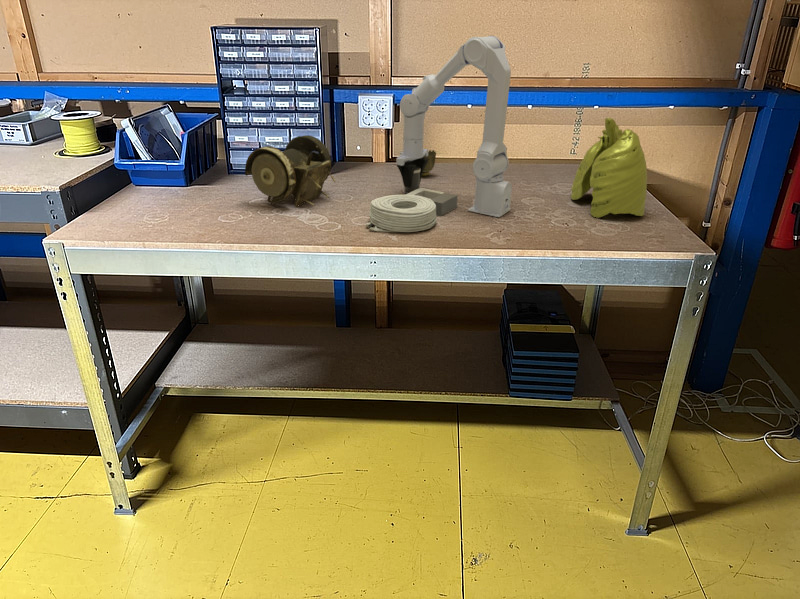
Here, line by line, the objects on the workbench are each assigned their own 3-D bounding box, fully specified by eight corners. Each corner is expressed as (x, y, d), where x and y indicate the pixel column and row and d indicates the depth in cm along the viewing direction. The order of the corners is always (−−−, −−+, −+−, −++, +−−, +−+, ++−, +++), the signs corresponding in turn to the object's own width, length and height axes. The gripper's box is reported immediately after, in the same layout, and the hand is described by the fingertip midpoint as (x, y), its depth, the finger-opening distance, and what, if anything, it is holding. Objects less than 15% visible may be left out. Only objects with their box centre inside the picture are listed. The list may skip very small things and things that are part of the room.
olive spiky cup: (435, 179, 188) (437, 154, 184) (412, 178, 188) (413, 153, 184) (434, 173, 195) (435, 148, 191) (412, 172, 194) (413, 148, 191)
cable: (363, 232, 145) (362, 209, 142) (375, 210, 160) (375, 189, 157) (433, 237, 143) (434, 214, 140) (438, 214, 158) (439, 193, 155)
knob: (422, 190, 174) (423, 167, 171) (414, 194, 170) (415, 170, 167) (409, 188, 176) (409, 164, 173) (401, 191, 173) (401, 168, 169)
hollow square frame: (456, 207, 163) (457, 195, 161) (441, 215, 156) (441, 203, 155) (420, 199, 169) (420, 187, 167) (403, 207, 162) (403, 195, 160)
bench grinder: (235, 189, 162) (252, 128, 149) (284, 168, 179) (303, 111, 166) (291, 231, 159) (313, 172, 146) (336, 206, 176) (359, 150, 163)
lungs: (562, 194, 176) (574, 111, 165) (611, 193, 178) (627, 111, 167) (595, 222, 154) (612, 129, 143) (650, 221, 156) (672, 129, 145)
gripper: (414, 132, 173) (413, 177, 180) (387, 140, 163) (387, 188, 169) (435, 135, 170) (433, 180, 176) (408, 143, 159) (407, 192, 165)
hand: (412, 184), depth 172 cm, fingers closed on knob, 4 cm apart
